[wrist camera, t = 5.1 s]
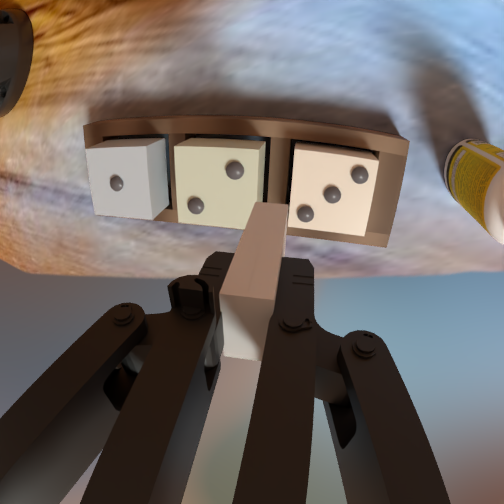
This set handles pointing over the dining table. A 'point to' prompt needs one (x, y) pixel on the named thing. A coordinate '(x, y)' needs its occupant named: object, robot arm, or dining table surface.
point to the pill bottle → (478, 183)
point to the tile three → (332, 188)
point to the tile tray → (278, 159)
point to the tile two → (218, 180)
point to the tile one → (128, 177)
